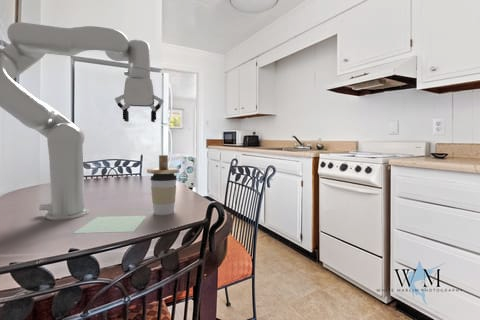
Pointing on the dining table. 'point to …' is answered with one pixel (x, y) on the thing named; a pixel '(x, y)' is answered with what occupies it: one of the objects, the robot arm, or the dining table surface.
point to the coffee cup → (163, 193)
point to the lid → (163, 167)
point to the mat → (112, 224)
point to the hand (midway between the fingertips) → (139, 121)
